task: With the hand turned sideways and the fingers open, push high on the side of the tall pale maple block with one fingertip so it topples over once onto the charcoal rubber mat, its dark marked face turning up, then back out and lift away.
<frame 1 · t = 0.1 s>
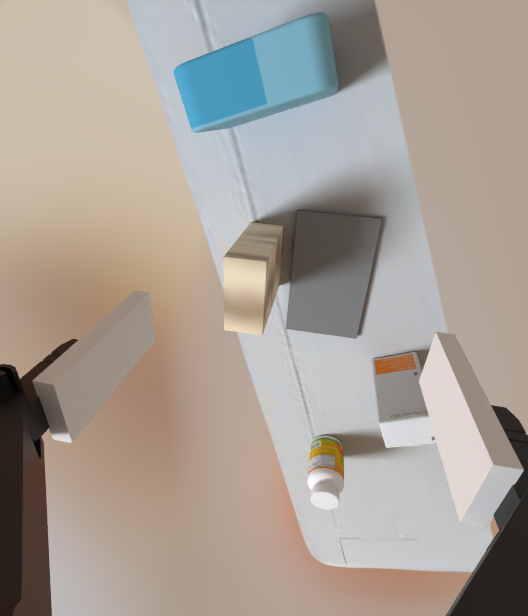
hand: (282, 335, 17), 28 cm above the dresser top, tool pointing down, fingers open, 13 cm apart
supplement bottle: (326, 444, 59), on the dresser top
data package: (275, 87, 36), on the dresser top
skincare box: (395, 365, 49), on the dresser top
maple block: (265, 255, 45), on the dresser top
charcoal mat: (329, 277, 45), on the dresser top
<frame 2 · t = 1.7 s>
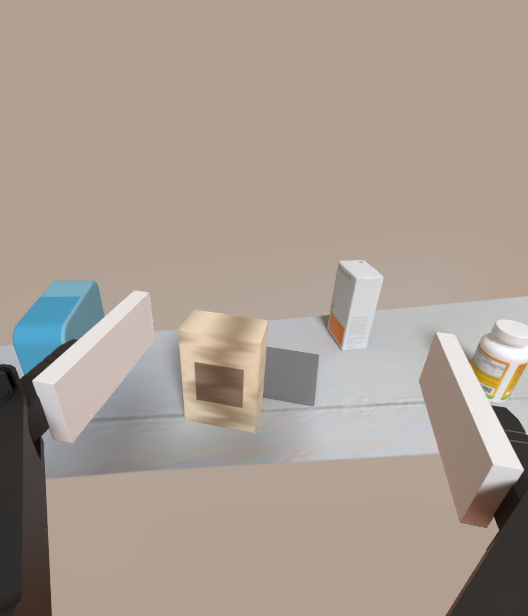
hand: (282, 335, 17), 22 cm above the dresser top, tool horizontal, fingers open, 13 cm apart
supplement bottle: (484, 390, 47), on the dresser top
data package: (82, 387, 43), on the dresser top
skincare box: (345, 340, 55), on the dresser top
maple block: (224, 412, 41), on the dresser top
charcoal mat: (256, 370, 48), on the dresser top
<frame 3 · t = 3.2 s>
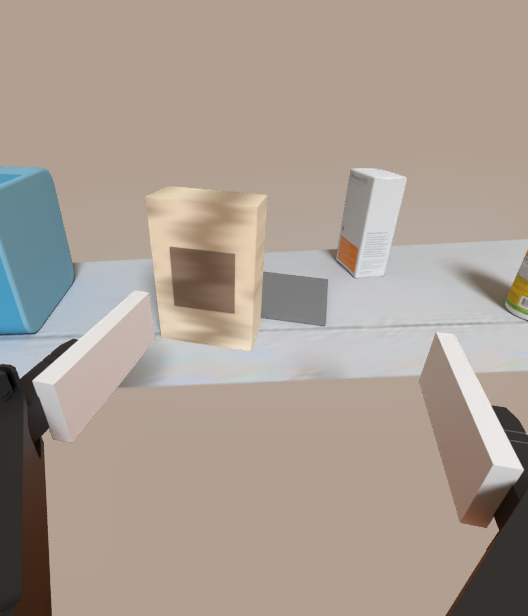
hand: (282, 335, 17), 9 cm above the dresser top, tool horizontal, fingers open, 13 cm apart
data package: (33, 307, 34), on the dresser top
skincare box: (358, 270, 47), on the dresser top
maple block: (212, 331, 32), on the dresser top
charcoal mat: (252, 293, 39), on the dresser top
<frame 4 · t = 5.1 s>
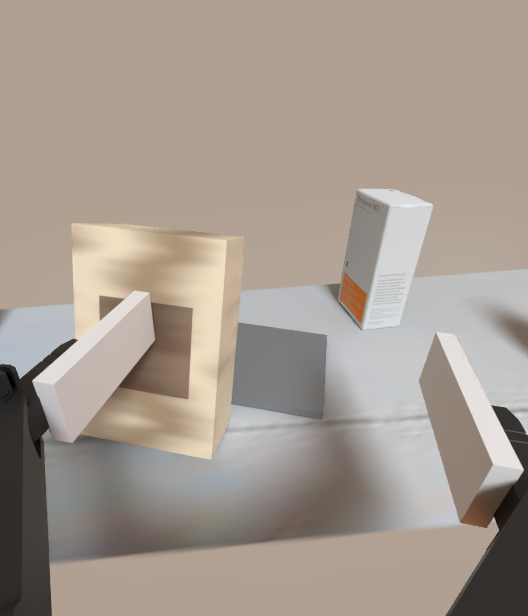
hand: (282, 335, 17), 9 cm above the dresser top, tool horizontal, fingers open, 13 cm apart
skincare box: (366, 315, 37), on the dresser top
maple block: (159, 427, 22), on the dresser top, tilted 15°
charcoal mat: (226, 359, 29), on the dresser top
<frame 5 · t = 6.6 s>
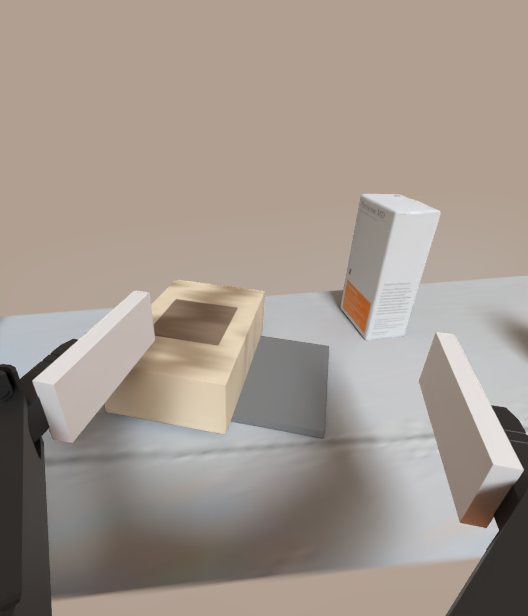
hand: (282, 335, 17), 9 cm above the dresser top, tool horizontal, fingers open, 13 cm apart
skincare box: (369, 324, 36), on the dresser top
maple block: (161, 399, 21), point 3 cm above the dresser top, tilted 90°, touching charcoal mat
charcoal mat: (223, 371, 28), on the dresser top
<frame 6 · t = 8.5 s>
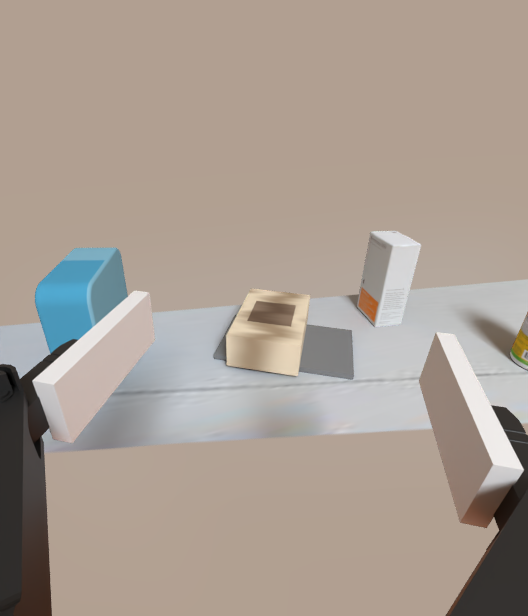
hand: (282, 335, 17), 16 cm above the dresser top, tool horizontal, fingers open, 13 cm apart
data package: (103, 363, 41), on the dresser top
skincare box: (377, 317, 52), on the dresser top
maple block: (262, 356, 38), point 3 cm above the dresser top, tilted 90°, touching charcoal mat
charcoal mat: (287, 345, 45), on the dresser top
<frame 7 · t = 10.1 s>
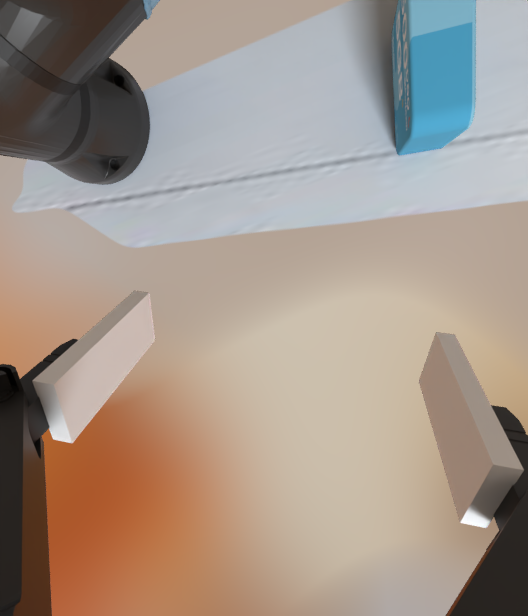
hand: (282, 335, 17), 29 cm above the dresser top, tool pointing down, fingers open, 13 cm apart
data package: (415, 94, 38), on the dresser top
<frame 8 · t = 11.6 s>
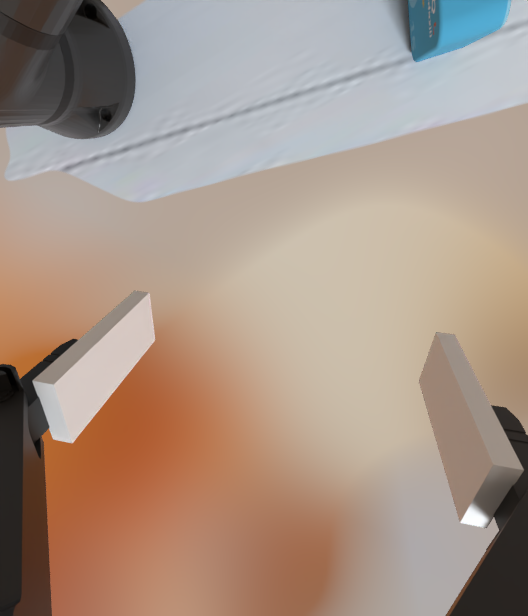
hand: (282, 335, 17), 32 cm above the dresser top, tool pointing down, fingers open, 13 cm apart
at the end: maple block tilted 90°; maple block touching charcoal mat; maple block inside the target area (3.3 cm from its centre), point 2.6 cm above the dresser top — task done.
